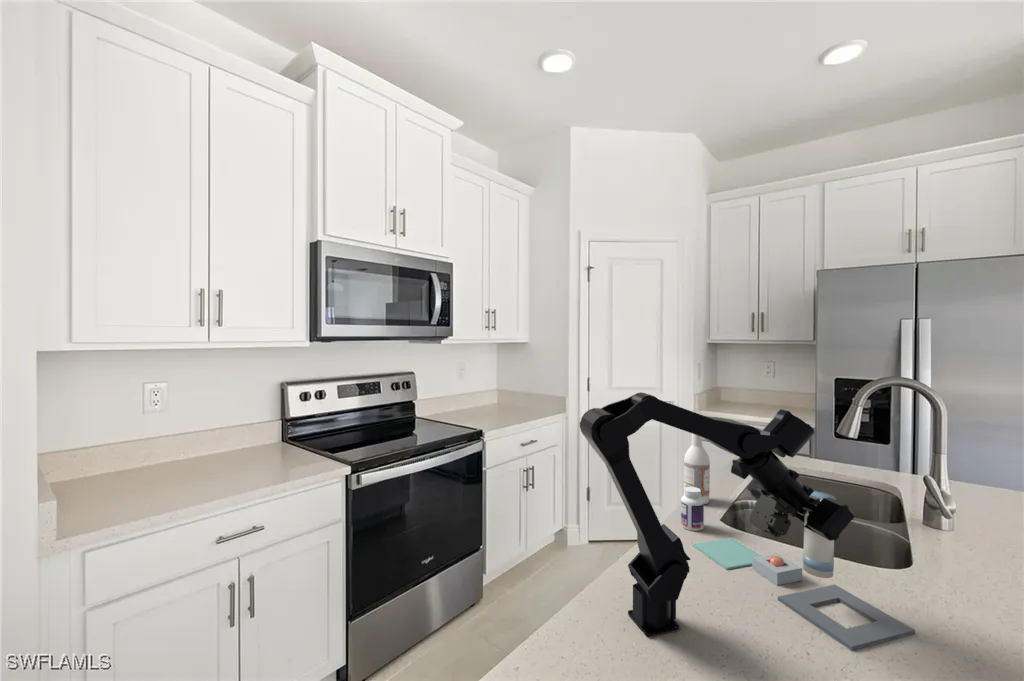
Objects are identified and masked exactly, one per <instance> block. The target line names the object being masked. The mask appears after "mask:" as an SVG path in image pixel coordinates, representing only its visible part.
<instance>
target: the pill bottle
mask: <svg viewBox="0 0 1024 681" xmlns="http://www.w3.org/2000/svg"><path fill="white" fill-rule="evenodd" d="M700 496H701V490H700V489H699V488H696V487H685V488H684V487H683V495H682V496H681V498H680V525H681V527H682V528H683V529H686V530H687V531H693V532H698V531H699V532H700V531H702V530H703V529H704V528H705V524H704V522H705V520H704V519H705V516H704V514H705V513H704V512H705V510H704V509H705V508H704V507H705V504H704V501H703V499H702V498H701V497H700Z"/></svg>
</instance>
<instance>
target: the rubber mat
mask: <svg viewBox="0 0 1024 681" xmlns="http://www.w3.org/2000/svg"><path fill="white" fill-rule="evenodd" d="M691 546H692V547H694V548H695V549H696V550H698V551H699V552H700V553H702V554H704V555H705V556H707V557H708V558H709V559H711V560H712V561H714V562H715V563H717V565H719V566H720V567H722V568H724V569H725V570H726V571H727V570H732V569H736V568H737V569H738V568H743V567H748V566H752V557H757V556H762V555H761V554H759V553H758V552H756V551H755V550H753V549H752V548H751V549H750V548H749V547H748V546H746V545H745V544H742V542H739V541H738V540H736V539H734V538H733V537H728V538H726V537H725V538H721V539H715V540H709V541H708V540H707V541H703V542H696V543H692V545H691Z"/></svg>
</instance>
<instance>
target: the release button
mask: <svg viewBox="0 0 1024 681" xmlns="http://www.w3.org/2000/svg"><path fill="white" fill-rule="evenodd" d="M770 563H771V564H773V565H774V566H776V567H780V566H783V563H784V560H783V559H782V558H781V557H778V556H771V557H770Z"/></svg>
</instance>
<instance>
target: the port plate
mask: <svg viewBox="0 0 1024 681" xmlns="http://www.w3.org/2000/svg"><path fill="white" fill-rule="evenodd" d="M777 600H778V601H779V602H780V603H781V604H783V605H785V606H786V607H788V608H789V609H791V610H792V611H793V612H794V613H797V614H798V615H799V616H800V617H802V618H804V619H805V620H807V621H808V622H809V623H811V624H812V625H814V626H815V627H816V628H818V629H820V630H821V631H822V632H824V633H826V634H827V635H828V636H830V637H831V638H832V639H834V640H835V641H837V642H838V643H840V644H841V645H843V646H844V647H846V648H847V649H848V650H850V651H855V650H859V649H861V648H866V647H871V646H874V645H878V644H881V643H885V642H888V641H892V640H895V639H899V638H900V639H901V638H903V637H906V636H910V635H914V634H916V629H914V628H912V627H910V626H909V625H908V624H905V623H904V622H902V621H900V620H899V619H896V618H894V617H893V616H891V615H890V614H889V613H886V612H885V611H883V610H880V609H879V608H877V607H875V606H873V605H871V604H870V603H868V602H866V601H865V600H863V599H862V598H860V597H858V596H856V595H854V594H853V593H851V592H850V591H847V590H846V589H844V588H842V587H840V586H839V585H836V584H831V585H825V586H822V587H816V588H812V589H811V588H810V589H808V590H807V589H806V590H803V591H798V592H793V593H789V594H785V595H779V596H777ZM834 601H835V602H838V601H839V603H842V604H843V605H845V606H846V607H848V608H850V609H851V610H853V611H855V612H856V613H858V614H860V615H861V616H863V617H865V619H868V620H870V622H868V623H867V622H866V623H864V624H859V625H855V626H851V627H848V628H847V627H845V626H843V625H842V624H840V623H839V622H837V621H836V620H834V619H833V618H831V617H830V616H828V615H826V613H823V612H822V611H820V610H819V609H817V608H816V607H817V606H821V605H826V604H831V603H834Z"/></svg>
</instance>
